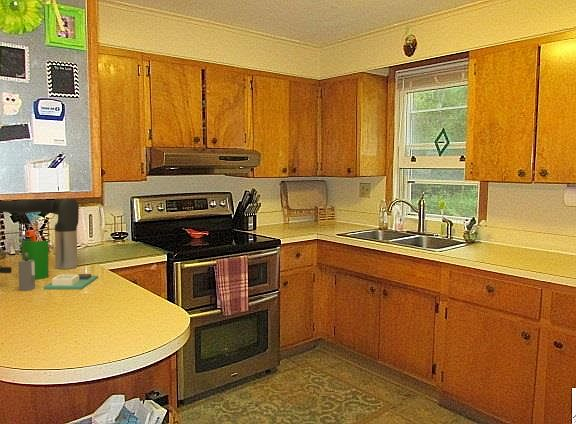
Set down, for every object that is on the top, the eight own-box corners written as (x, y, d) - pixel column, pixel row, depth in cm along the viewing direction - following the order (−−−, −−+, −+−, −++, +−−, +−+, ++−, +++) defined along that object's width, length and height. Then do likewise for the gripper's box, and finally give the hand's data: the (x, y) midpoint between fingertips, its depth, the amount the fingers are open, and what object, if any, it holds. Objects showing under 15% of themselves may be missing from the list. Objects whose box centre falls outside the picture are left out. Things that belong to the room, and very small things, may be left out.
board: (63, 277, 203) (63, 269, 202) (98, 277, 204) (97, 269, 203) (43, 289, 183) (43, 280, 182) (81, 289, 184) (81, 280, 183)
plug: (24, 288, 184) (23, 251, 183) (36, 288, 184) (35, 251, 183) (19, 290, 180) (18, 253, 179) (32, 290, 180) (31, 253, 179)
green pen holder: (52, 275, 206) (52, 229, 205) (40, 280, 198) (39, 231, 196) (30, 274, 207) (29, 228, 206) (17, 279, 199) (15, 230, 197)
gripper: (-52, 266, 172) (-5, 266, 174) (-29, 258, 187) (14, 259, 188) (-52, 286, 173) (-5, 286, 174) (-29, 277, 187) (15, 278, 188)
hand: (5, 272), depth 181 cm, fingers open, 8 cm apart
